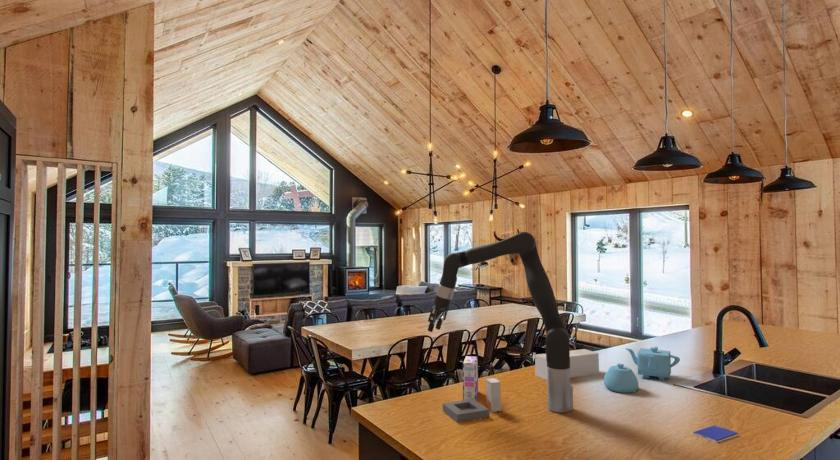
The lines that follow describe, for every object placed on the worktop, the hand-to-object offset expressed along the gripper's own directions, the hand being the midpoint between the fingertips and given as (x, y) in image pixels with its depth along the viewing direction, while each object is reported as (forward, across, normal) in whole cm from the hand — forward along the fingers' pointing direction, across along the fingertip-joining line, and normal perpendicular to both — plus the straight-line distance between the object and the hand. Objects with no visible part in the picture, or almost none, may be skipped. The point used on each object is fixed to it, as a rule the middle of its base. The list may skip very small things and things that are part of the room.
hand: (433, 330), depth 206 cm
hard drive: (-3, +4, -111) cm, 111 cm away
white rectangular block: (+11, +63, -54) cm, 84 cm away
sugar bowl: (+4, +48, -80) cm, 93 cm away
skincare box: (+20, -2, -36) cm, 42 cm away
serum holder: (+23, -11, -28) cm, 38 cm away
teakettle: (-2, +75, -92) cm, 119 cm away
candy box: (+24, +10, -22) cm, 35 cm away
